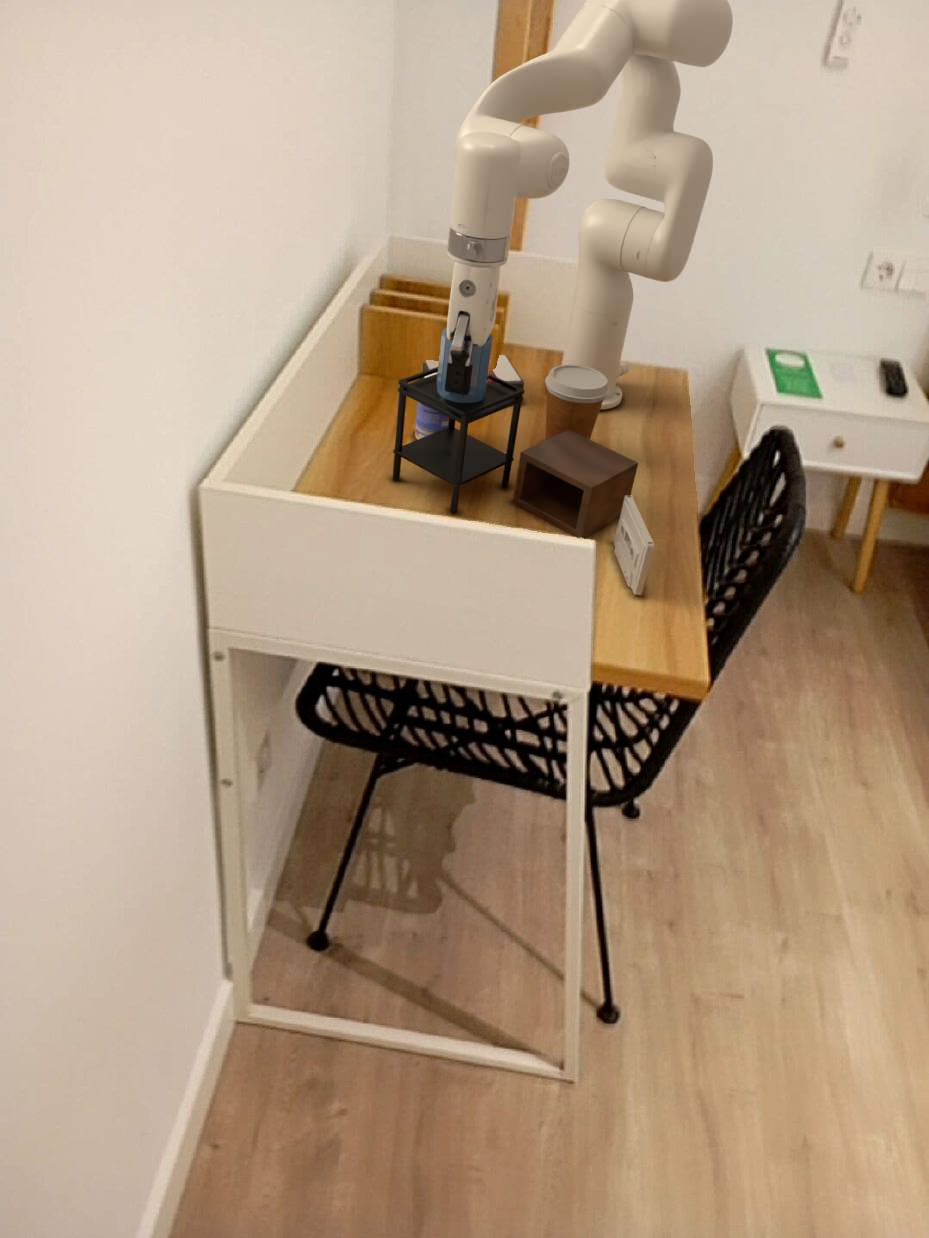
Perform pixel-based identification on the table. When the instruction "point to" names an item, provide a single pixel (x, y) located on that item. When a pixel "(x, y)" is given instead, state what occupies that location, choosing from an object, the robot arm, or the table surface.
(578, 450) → the shelf
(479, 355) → the blue cup
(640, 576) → the cassette
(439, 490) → the table surface
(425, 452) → the tray
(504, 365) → the calculator
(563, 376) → the disposable coffee cup
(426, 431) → the pill bottle
